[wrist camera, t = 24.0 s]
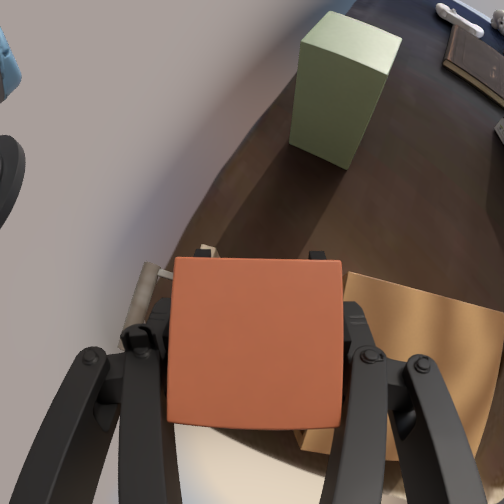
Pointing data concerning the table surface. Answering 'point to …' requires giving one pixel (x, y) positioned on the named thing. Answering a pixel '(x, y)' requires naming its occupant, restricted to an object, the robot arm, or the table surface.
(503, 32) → the toy rhinoceros
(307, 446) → the cabinet
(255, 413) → the block
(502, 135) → the tea box
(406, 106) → the table surface
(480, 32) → the game controller
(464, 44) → the hardcover book
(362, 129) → the stand
